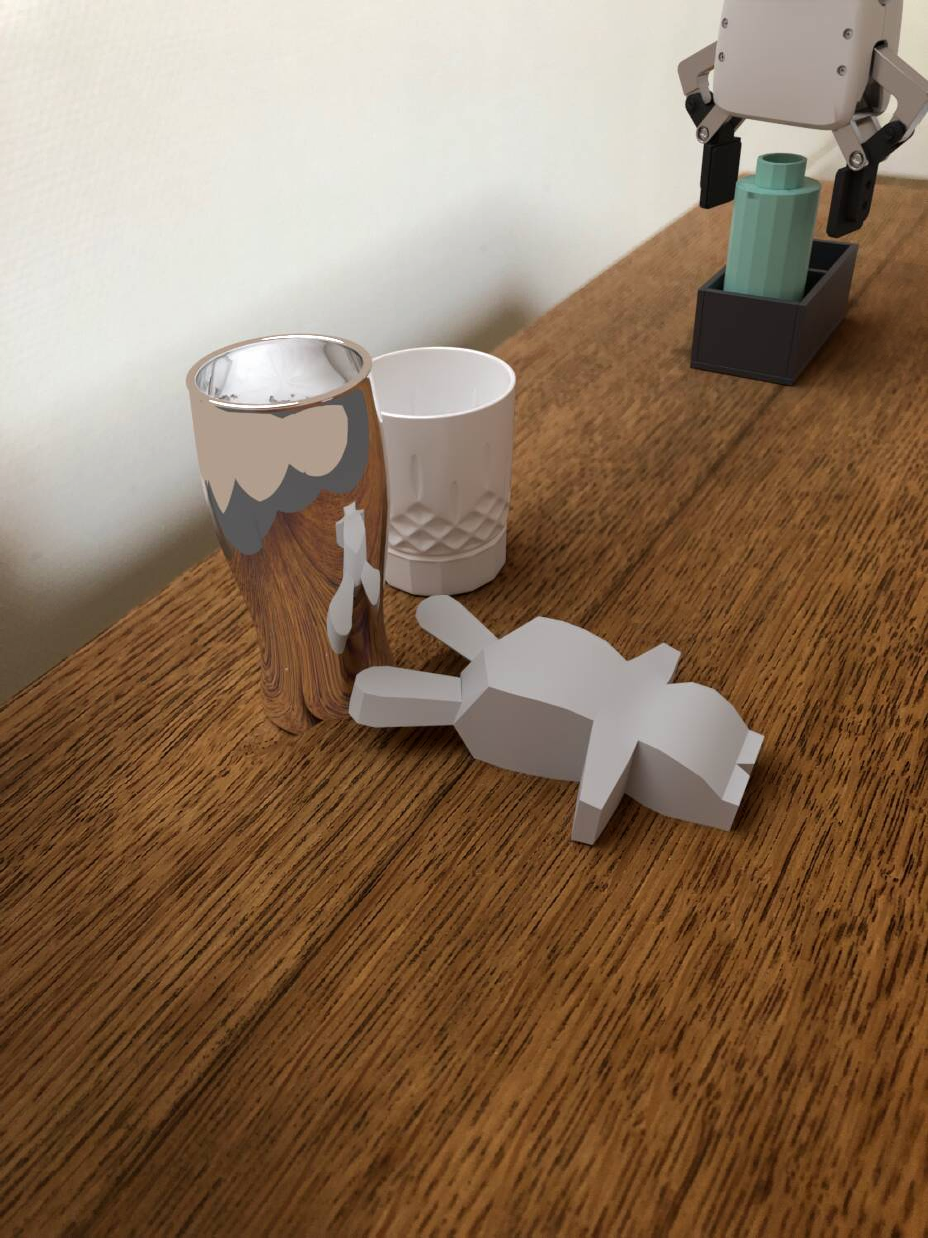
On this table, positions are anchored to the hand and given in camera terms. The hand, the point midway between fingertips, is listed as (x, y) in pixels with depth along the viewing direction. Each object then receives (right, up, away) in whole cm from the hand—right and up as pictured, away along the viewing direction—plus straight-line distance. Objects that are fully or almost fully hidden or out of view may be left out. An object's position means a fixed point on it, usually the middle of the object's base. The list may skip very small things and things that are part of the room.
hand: (777, 217), depth 66 cm
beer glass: (-26, -29, -22) cm, 45 cm away
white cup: (-22, -23, -14) cm, 35 cm away
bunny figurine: (-17, -32, -25) cm, 44 cm away
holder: (+2, -6, +8) cm, 10 cm away
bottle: (0, -7, +5) cm, 9 cm away
